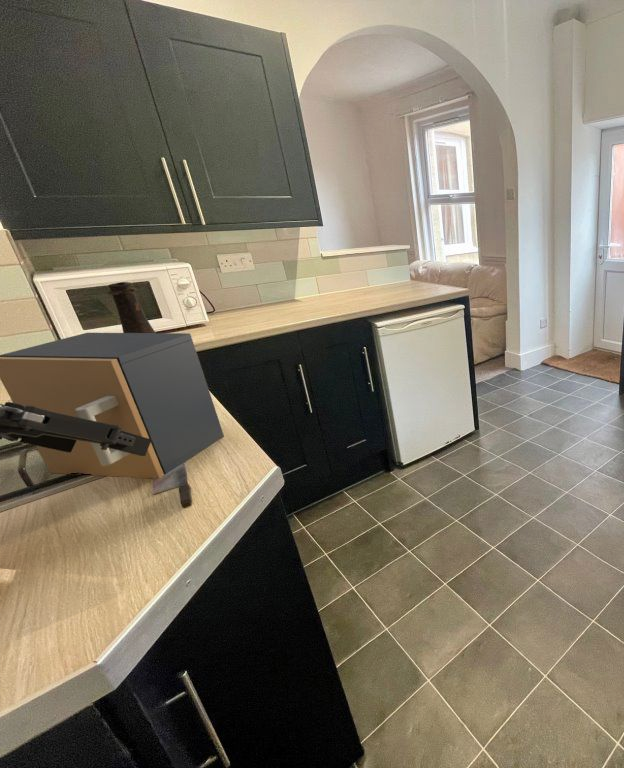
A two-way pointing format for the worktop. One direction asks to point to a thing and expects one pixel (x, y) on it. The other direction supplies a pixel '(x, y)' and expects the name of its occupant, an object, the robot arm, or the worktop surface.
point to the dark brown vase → (129, 309)
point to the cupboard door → (81, 410)
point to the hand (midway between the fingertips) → (109, 445)
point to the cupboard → (153, 386)
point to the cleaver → (175, 484)
